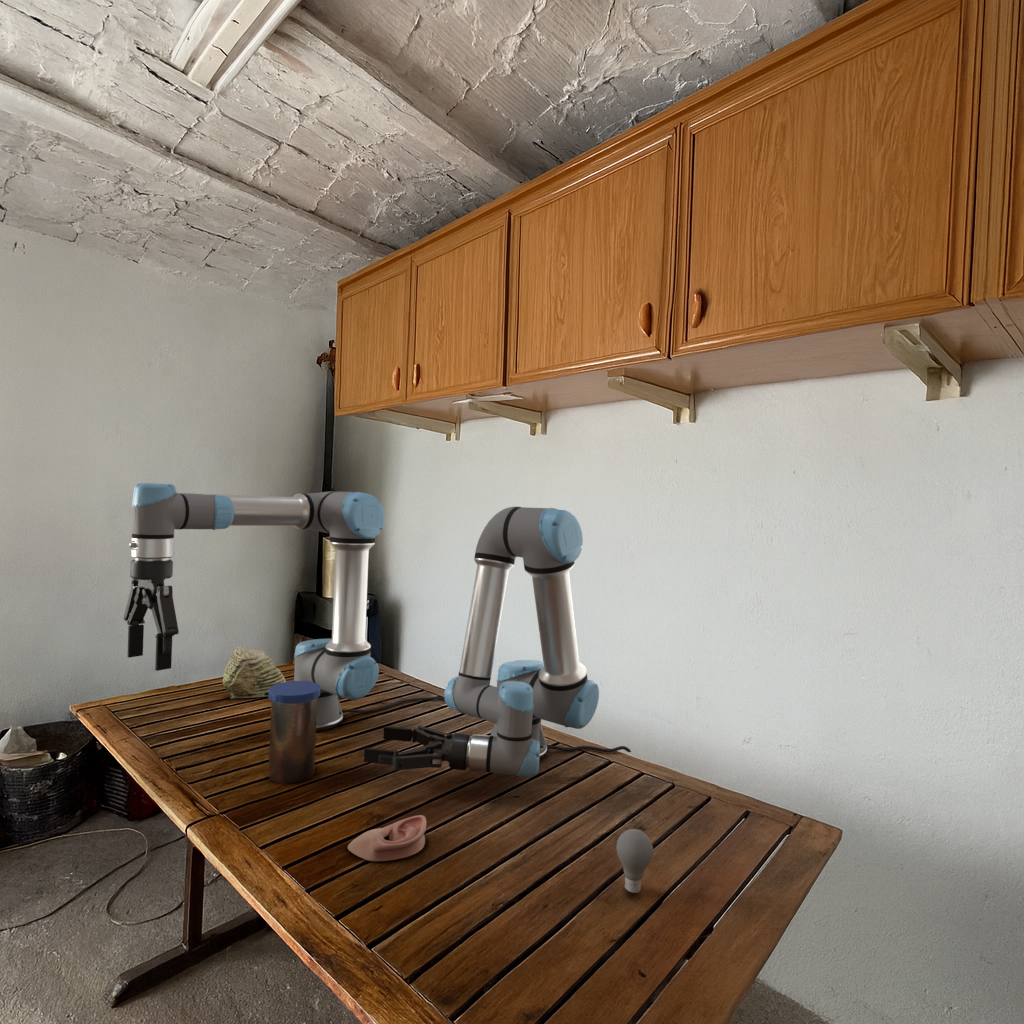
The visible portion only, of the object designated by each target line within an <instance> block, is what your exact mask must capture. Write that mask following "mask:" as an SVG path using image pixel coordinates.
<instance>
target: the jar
mask: <svg viewBox="0 0 1024 1024" xmlns="http://www.w3.org/2000/svg"><path fill="white" fill-rule="evenodd" d="M270 701H271V700H270ZM316 717H317V698H316V699H314V700H311V701H308V702H302V703H278V702H274V701H271V702H270V723H269V724H270V725H269V750H268V751H269V753H268V755H269V756H268V779H269V780H270V781H272V782H274V783H279V784H295V783H299V782H304V781H306V780H308V779H310V778H311V777H312V776H314V774H315V768H316V765H315V764H316V743H317V741H316V740H317V732H316Z"/></svg>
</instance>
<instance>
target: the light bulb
mask: <svg viewBox="0 0 1024 1024" xmlns="http://www.w3.org/2000/svg"><path fill="white" fill-rule="evenodd" d="M615 849H616V854H617V857H618V859H619V861H620V863H621V865H622V867H623V873H624V874H623V875H624V876H625V878H624V888H625V890H627V891H628V892H630V893H634V894H635V893H639V892H640V891H641V889H642V887H641V886H642V879H643V877H644V875H645V871H646V868H647V867H648V866H649V864H650V863H651V861H652V859H653V855H654V847H653V843H652V841H651V838H649V836H648V835H647V834H646V833H645V832H643V831H642V830H641V829H636V828H629V829H627V830H625V831H623V832H622V833H621V834H620V835H619V837H618V839H617V841H616V847H615Z"/></svg>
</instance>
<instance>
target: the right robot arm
mask: <svg viewBox="0 0 1024 1024" xmlns="http://www.w3.org/2000/svg"><path fill="white" fill-rule="evenodd" d="M583 543H584V539H583V531H582V527H581V524H580V522H579V520H578V518H576V516H575V515H574V514H572V513H571V512H570V511H569V510H566V509H557V508H555V507H526V506H525V507H522V506H510V507H509V506H508V507H506V508H503V509H502V510H499V511H498V512H497V513H496V514H494V515H493V516H492V518H490V520H489V521H488V522H487V523H486V525H485V526H484V527H483V530H482V532H481V534H480V536H479V537H478V541H477V543H476V547H475V551H474V557H473V560H474V562H475V563H476V571H475V577H474V583H473V587H472V594H471V600H470V605H469V606H470V607H469V613H468V618H467V624H466V630H465V634H464V635H465V636H464V641H463V645H462V647H463V648H462V653H461V658H460V664H459V669H458V675H457V676H455V677H452V678H451V679H450V680H449V681H448V682H447V686H446V687H445V689H444V691H443V692H444V694H443V697H444V699H445V700H444V702H445V704H446V706H447V707H448V708H449V709H451V710H453V711H456V712H458V713H460V714H462V715H467V716H471V717H474V718H477V719H481V720H483V721H487V722H490V723H494V725H493V727H492V730H491V733H490V735H487V734H479V733H478V734H476V733H473V734H472V735H470V734H469V733H463V732H454V733H448V732H443V731H440V730H436V729H433V728H430V727H426V726H423V725H417V727H415V728H408V727H407V728H406V727H395V726H384V727H383V735H382V736H383V737H382V739H383V740H387V741H388V740H389V741H401V742H408V743H410V742H411V743H412V744H414V743H415V744H416V743H417V744H420V745H422V747H421V748H416V749H409V750H405V751H398V750H397V749H394V750H393V749H383V748H374V747H373V748H372V747H364V755H363V762H364V763H370V764H371V763H372V764H380V765H391V766H393V770H394V771H406V770H418V769H429V768H436V769H440V768H442V765H443V764H442V762H448V767H449V769H450V770H455V771H466V770H467V769H468V771H470V772H478V773H479V774H481V775H482V774H484V773H489V774H499V775H508V776H515V777H534V776H536V775H537V774H539V768H540V761H542V760H543V759H545V758H546V756H547V753H548V750H549V749H550V750H556V751H561V752H573V751H579V750H589V751H597V752H601V753H614V752H618V751H623V750H624V751H626V752H627V753H632V751H631V749H630V748H629V747H628V746H625V745H619V746H616V747H613V748H604V747H597V746H593V745H577V746H571V747H563V746H557V745H551V744H547V740H546V737H545V733H544V729H543V725H542V721H546V722H550V723H552V724H556V725H560V726H563V727H564V728H572V729H576V730H581V729H583V728H585V727H586V726H588V724H589V723H590V722H591V721H592V719H593V717H594V715H595V713H596V710H597V708H598V705H599V698H600V688H599V686H598V683H596V682H595V681H593V680H591V679H590V680H589V679H588V670H587V667H586V666H585V665H584V664H583V663H581V662H580V657H579V647H578V639H577V630H576V621H575V613H574V605H573V593H572V587H571V578H570V571H572V569H573V568H574V567H575V564H576V563H575V561H576V560H578V559H579V557H580V555H581V553H582V546H583ZM516 558H522V561H523V570H524V571H525V572H526V573H527V574H528V575H530V576H531V578H532V586H533V595H534V603H535V611H536V617H537V623H538V624H537V625H538V632H539V641H540V648H541V657H542V661H541V660H537V659H519V660H512V661H507V662H504V663H502V664H500V666H499V667H498V671H497V679H496V686H494V685H491V681H492V680H491V679H492V673H493V666H494V661H495V655H496V649H497V643H498V637H499V632H500V625H501V619H502V613H503V608H504V601H505V595H506V589H507V583H508V580H509V579H508V578H509V574H510V573H509V572H510V570H511V569H513V568H515V563H516Z"/></svg>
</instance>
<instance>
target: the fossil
mask: <svg viewBox="0 0 1024 1024" xmlns="http://www.w3.org/2000/svg"><path fill="white" fill-rule="evenodd" d="M222 676H223V677H222V685H223V687H224V688H225V690H226V691H228V693H229V698H230V699H250V698H264V697H268V692H269V688H270V687H271V686H273V685H275V684H278V683H283V682H287V680H286V678H285V676H284V674H283V673H282V672H281V669H279V668H278V667H277V665H276V663H275V662H274V660H273V659H272V658H271V657H270V656H269V655H268V654H267V653H266V652H265V650H264V649H263V648H260V647H258V648H251V647H247V646H246V647H245V646H238V647H237V648H236V649H235V650H233V651H232V653H231V656H230V657H229V659H228V660H227V663H226V666H225V668H224V671H223V675H222Z"/></svg>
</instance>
